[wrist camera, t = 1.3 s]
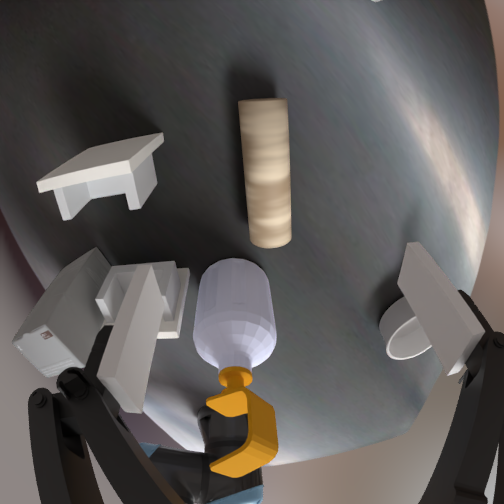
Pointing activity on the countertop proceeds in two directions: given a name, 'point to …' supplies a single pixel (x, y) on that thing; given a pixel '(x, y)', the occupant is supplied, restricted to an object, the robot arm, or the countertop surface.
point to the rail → (266, 169)
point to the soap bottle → (238, 354)
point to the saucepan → (403, 331)
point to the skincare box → (65, 317)
